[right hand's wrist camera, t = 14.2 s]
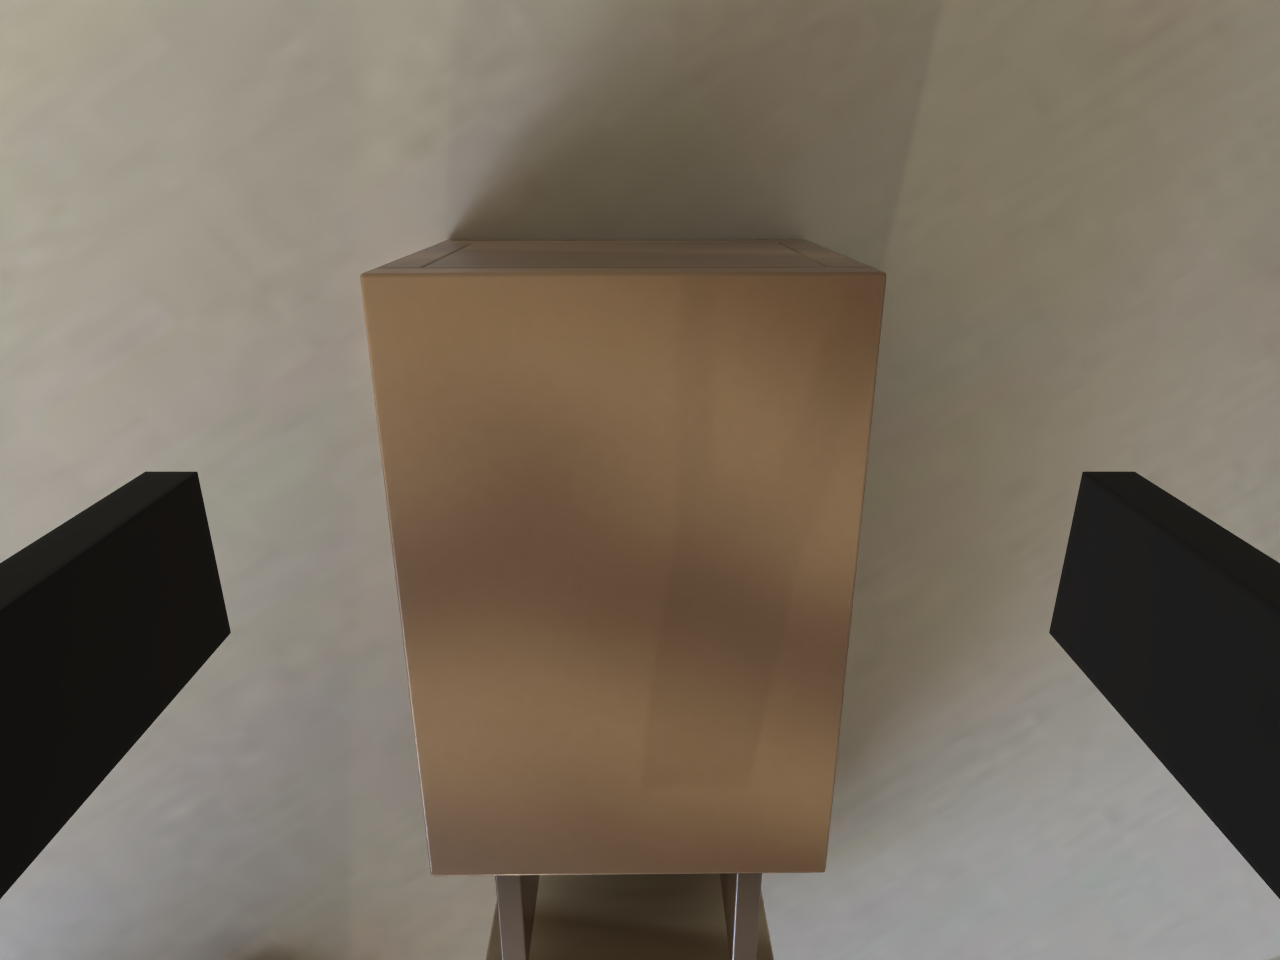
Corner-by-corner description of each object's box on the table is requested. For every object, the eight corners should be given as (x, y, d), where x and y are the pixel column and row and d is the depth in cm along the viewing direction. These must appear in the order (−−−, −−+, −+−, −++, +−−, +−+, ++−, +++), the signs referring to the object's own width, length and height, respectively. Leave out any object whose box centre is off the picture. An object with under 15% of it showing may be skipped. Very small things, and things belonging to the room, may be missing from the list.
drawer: (747, 980, 36) (771, 1149, 29) (513, 983, 35) (489, 1152, 29) (775, 532, 28) (816, 634, 22) (479, 534, 28) (436, 637, 22)
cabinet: (775, 694, 32) (825, 873, 24) (481, 696, 31) (430, 877, 23) (807, 239, 26) (887, 272, 18) (443, 240, 26) (358, 273, 17)
